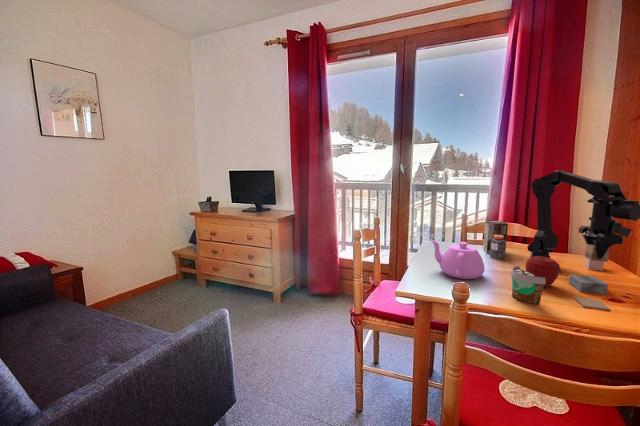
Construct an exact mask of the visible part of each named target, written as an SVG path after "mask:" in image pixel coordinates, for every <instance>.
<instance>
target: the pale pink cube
mask: <svg viewBox="0 0 640 426" xmlns="http://www.w3.org/2000/svg"><path fill="white" fill-rule="evenodd" d="M583 260H584V261H583V267H585V269H587V270H589V271H590V270H591V271H599V272H600V271H601V272H603V271H604V264H605V261H593V260H590V259H588V258H586V257H585V256H584V259H583Z"/></svg>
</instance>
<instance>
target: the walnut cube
mask: <svg viewBox="0 0 640 426" xmlns="http://www.w3.org/2000/svg"><path fill="white" fill-rule="evenodd" d="M610 250H611V249H610V247H609V248H608V250H607V251H606V253H605V254H604V256H603V258H602V259H599V258H598V257H597V253H596V250H595V246H594V245H592V244H586V247H585V253H584V258H585V257H586V258H588V259H590V260H593V261H604V262H609V256H610Z"/></svg>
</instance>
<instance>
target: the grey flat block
mask: <svg viewBox="0 0 640 426" xmlns="http://www.w3.org/2000/svg"><path fill="white" fill-rule="evenodd" d="M568 276H569V277H568V278H569V279H568V284H569V285H570V286H571V287H572V288H574V289H575V290H576V291H578V292H579V293H584V294H585V293H587V294H598V295H599V294H600V295H607V293H608V286H609V284H608V283H607V282H605V281H603V280H602V279H600V278H598V277H596V276H595V275H582V274H569V275H568Z"/></svg>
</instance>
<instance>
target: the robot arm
mask: <svg viewBox="0 0 640 426" xmlns="http://www.w3.org/2000/svg"><path fill="white" fill-rule="evenodd" d="M561 183H565V184H568V185H571V186H573V187H576V188H579V189H582V190H584V191H586V192H587V194H589V195H591V196H592V197H591V198H589V199H588V200H586V202H587V203H592V211H591V216H589V217H588V220H589V221H590V225H580V227H578V233H579V234H581V235H582V237H583V239H584V241H585V244H586V245H587V244H592V245H594V246H595V250H596V253H597V257H598V258H599V259H602V258H603V256H604V254H605V253H606V251H607V250H608V248H610V247H611V246H614V245H623V244H624V241H625V240H624V237H625V238H629V236H630V234H631V233H632V231H633V229H632V228H628V227H625V226H623V223H621V222H618V221H616V220H615V219H621V220H628V221H634V222H635V221H638V220H640V201H639V200H628V199H627V197H626V195H625V194H624V193H623V191H622V190H621V186H620V184H619V183H618V182H616V181H609V180H608V181H607V180H597V179H593V178H592V179H591V178H590V177H589V178H588V177H585V176H583V175H582V176H581V175H579V174H575V173H572V172H568V171H567V170H555V171H553V172H551V173H550V174H545V175H543V176H541V177H540V178H534V180H533V181H532V182H531V190H532V193H533V195H534V196H535V198H536V211H537V214H536V215H537V231H536V233H534V234H535V235H534V236H533V242H531V243H530V244H528V245H527V247H526V248H527V251H528V252H530V255H529V256H530V257H529V258H531V257H534V256H542V257H543V256H544V257H547V258H551V256H550V253H553V252H554V250H555V249H556V248H557V247H558V244H559V243H560V242H559V240H558V239H559V235H558V233H554V231H553V230H552V204H551V203H552V201H551V199H552V197H553V195H554V193H555V190H556V187H557V186H559V185H561ZM613 218H614V219H613Z"/></svg>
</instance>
